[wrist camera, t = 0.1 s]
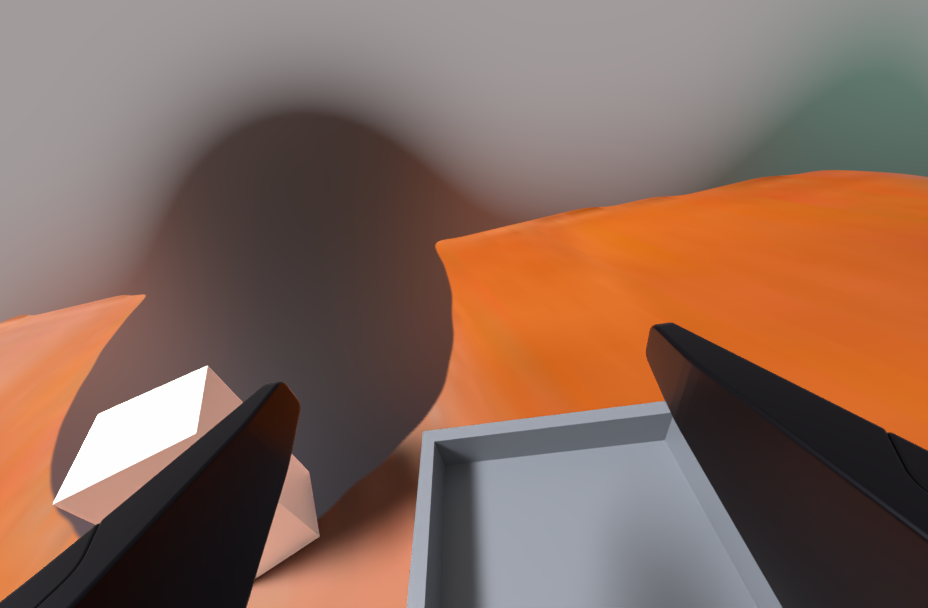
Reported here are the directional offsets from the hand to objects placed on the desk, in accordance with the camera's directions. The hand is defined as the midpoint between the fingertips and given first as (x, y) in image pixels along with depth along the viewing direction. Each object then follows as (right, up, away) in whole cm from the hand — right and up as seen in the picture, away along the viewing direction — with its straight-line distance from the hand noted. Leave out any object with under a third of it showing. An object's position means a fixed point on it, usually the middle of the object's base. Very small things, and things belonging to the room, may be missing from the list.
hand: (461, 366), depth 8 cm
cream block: (-13, -13, +14) cm, 23 cm away
